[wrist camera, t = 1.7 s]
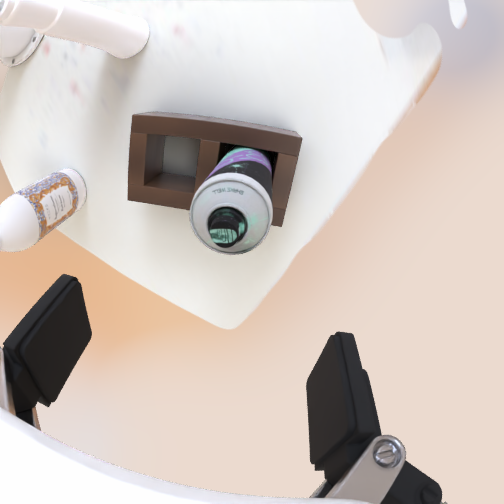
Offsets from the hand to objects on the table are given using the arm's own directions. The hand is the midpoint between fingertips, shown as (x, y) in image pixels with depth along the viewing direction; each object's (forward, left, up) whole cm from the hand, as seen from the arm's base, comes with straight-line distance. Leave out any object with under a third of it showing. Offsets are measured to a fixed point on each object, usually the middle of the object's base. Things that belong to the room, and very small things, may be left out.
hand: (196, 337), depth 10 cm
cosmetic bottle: (-15, -18, -28) cm, 36 cm away
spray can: (0, 0, -28) cm, 28 cm away
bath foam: (+7, -26, -28) cm, 39 cm away
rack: (0, -4, -28) cm, 28 cm away
